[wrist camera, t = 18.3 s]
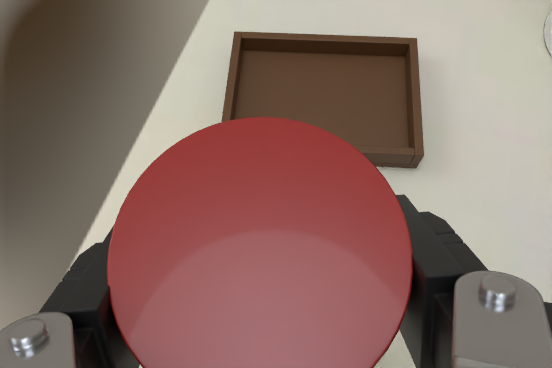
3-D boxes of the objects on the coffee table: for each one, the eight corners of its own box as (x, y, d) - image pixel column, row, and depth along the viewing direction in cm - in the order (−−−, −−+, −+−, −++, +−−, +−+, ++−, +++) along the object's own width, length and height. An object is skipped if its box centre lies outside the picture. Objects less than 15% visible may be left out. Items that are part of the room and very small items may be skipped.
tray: (222, 157, 32) (218, 145, 31) (237, 48, 36) (234, 31, 34) (416, 168, 32) (424, 155, 30) (410, 55, 35) (417, 37, 34)
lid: (413, 188, 11) (437, 152, 9) (362, 452, 8) (381, 473, 7) (190, 131, 11) (172, 88, 10) (93, 361, 9) (48, 359, 7)
